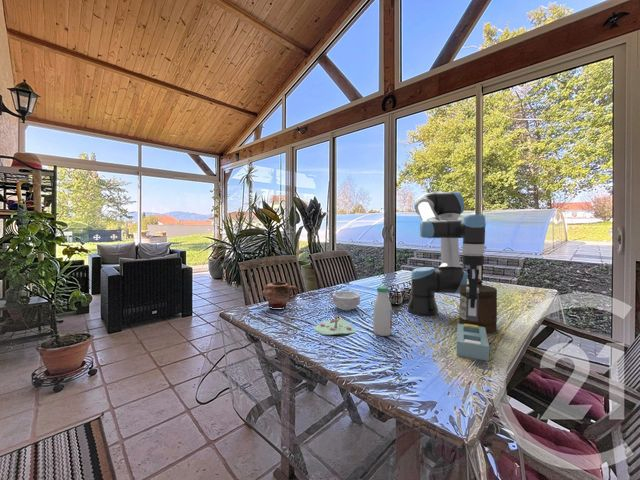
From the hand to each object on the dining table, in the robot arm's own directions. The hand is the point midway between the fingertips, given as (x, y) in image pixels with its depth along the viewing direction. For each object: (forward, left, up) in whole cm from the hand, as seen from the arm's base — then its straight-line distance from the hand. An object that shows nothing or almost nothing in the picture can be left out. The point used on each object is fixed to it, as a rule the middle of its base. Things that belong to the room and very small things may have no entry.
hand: (471, 313), depth 112 cm
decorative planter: (-95, +7, -12) cm, 96 cm away
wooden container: (+3, +20, -12) cm, 23 cm away
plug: (0, 0, -2) cm, 2 cm away
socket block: (0, -4, -12) cm, 12 cm away
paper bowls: (-61, +22, -12) cm, 66 cm away
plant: (-56, -5, -12) cm, 57 cm away
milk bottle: (-34, -5, -12) cm, 36 cm away
